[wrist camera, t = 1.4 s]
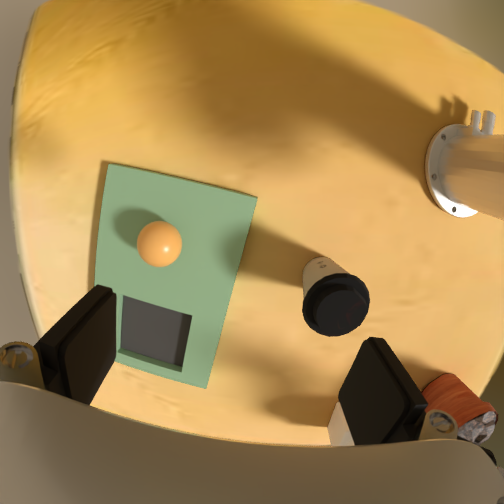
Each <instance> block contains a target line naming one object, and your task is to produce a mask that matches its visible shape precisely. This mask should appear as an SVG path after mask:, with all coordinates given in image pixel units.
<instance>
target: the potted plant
mask: <svg viewBox="0 0 504 504" xmlns="http://www.w3.org/2000/svg"><path fill="white" fill-rule="evenodd" d="M422 395H423V396H424V398H425V399H426V401H427V402H428V406H427V407H426V409H425V412H426V413H427V412H429V411H430V410H434V409H436V410H442V411H445V412H446V413H448V414H450V415H451V416H452V417H453V418H454V419H455V421H456V422H457V425H458V434H457V435H458V436H460V437H462V438H464V439H466V440H468V441H470V442H472V443H475V444H477V445H480V444H481V443H483V442H485V441H486V440H488V439H489V437H490V436H491V434H492V433H493V430H494V427H495V425H496V423H497V421H498V414H497V412H496V411H495V410H494V408H493V407H492V406H491V405H490V403H489V402H483V401H482V400H480V398H478V397H477V396H476V395H475V394H474V393H473V392H472V391H471V390H470V389H469V388H468V387H467V386H466V385H465V384H464V383H463V382H462V381H461V380H460V379H459V378H458V377H457V376H456V375H454V374H450V373H449V374H443V375H442V376H440V377H439V378H437V379H436V380H434V381H433V382H431V383H430V384H429V385H428V386H427V387H426V388H425V389H424V390H423V392H422Z"/></svg>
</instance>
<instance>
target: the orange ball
mask: <svg viewBox="0 0 504 504" xmlns="http://www.w3.org/2000/svg"><path fill="white" fill-rule="evenodd" d="M181 249H182V238H181V235H180V233H179V231H178V230H177V229H176V228H175V227H174V226H173V225H172V224H170V223H168V222H165V221H154V222H151V223H149V224H147V225H146V226H145V227H144V228H143V229H142V230H141V231H140V233H139V235H138V239H137V250H138V253H139V255H140V257H141V258H142V259H143V261H145V262H146V263H147V264H149V265H151V266H154V267H165V266H168V265H170V264H172V263H173V262H174V261H175V260H176V259H177V258H178V257H179V255H180V253H181Z"/></svg>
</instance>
